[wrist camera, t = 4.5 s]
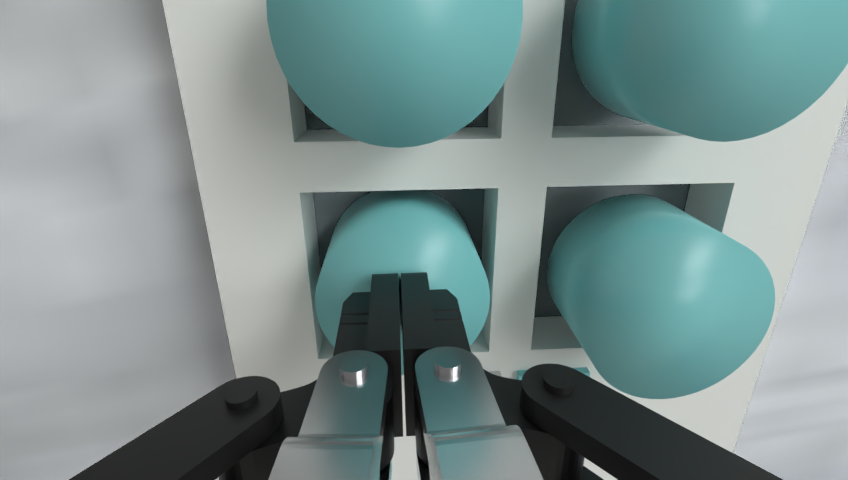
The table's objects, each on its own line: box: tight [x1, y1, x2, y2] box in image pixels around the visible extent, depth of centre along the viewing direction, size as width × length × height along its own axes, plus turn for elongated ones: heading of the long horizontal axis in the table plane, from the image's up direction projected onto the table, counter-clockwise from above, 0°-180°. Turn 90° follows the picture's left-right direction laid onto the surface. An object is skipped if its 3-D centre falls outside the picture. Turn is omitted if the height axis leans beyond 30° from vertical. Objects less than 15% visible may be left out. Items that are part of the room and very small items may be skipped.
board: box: [162, 0, 848, 480], centre depth 14 cm, size 18×24×2 cm
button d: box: [315, 190, 490, 375], centre depth 14 cm, size 5×5×3 cm
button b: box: [266, 0, 523, 148], centre depth 10 cm, size 5×5×3 cm
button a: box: [572, 0, 848, 142], centre depth 11 cm, size 5×5×3 cm
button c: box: [547, 194, 775, 399], centre depth 13 cm, size 5×5×3 cm
